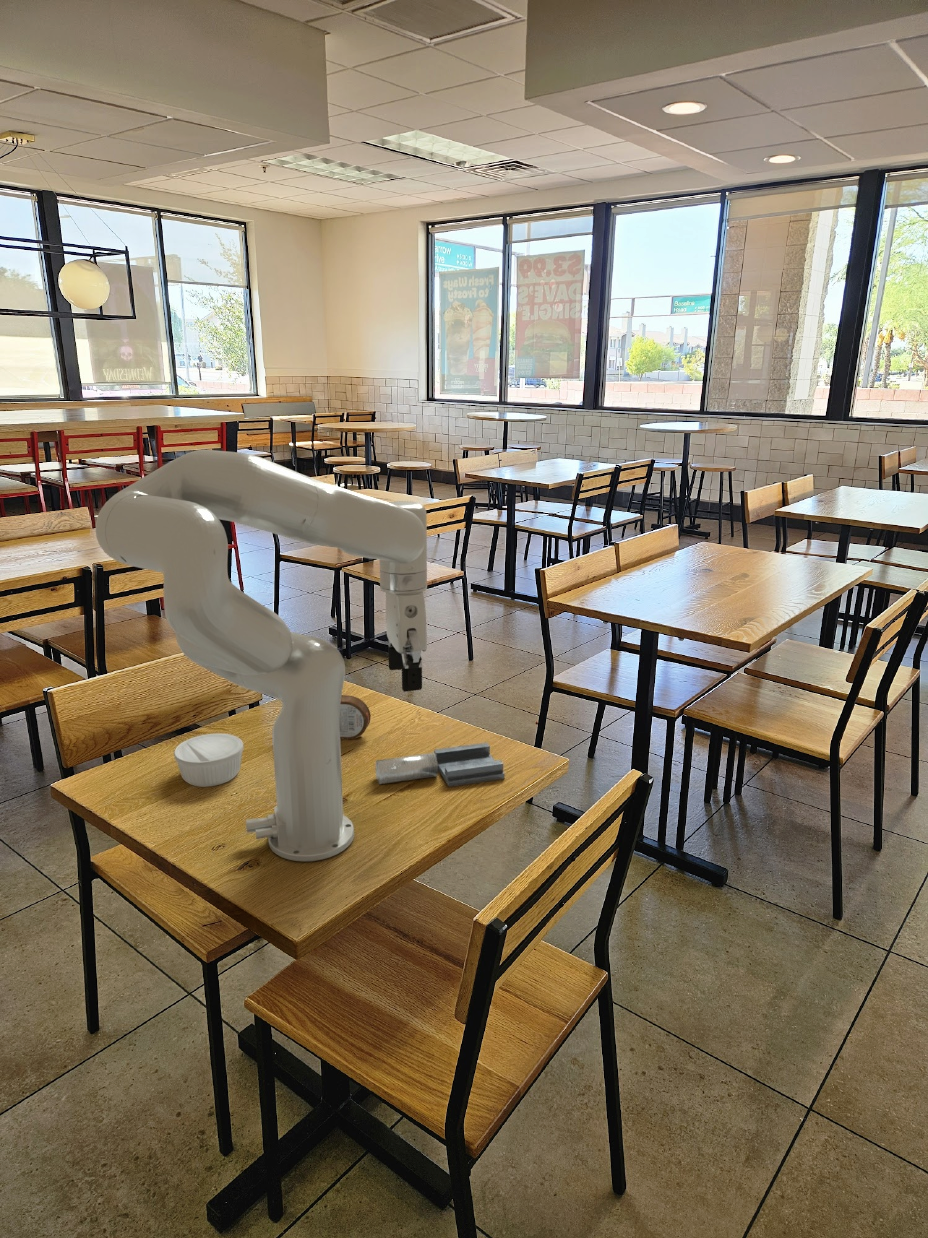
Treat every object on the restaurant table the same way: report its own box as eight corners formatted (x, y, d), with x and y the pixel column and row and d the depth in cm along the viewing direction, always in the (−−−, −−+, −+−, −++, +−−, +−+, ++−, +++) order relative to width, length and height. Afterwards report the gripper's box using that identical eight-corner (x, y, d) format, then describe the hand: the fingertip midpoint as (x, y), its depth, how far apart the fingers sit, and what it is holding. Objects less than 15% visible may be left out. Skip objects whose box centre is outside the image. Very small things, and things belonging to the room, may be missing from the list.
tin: (371, 735, 155) (370, 694, 152) (368, 742, 152) (366, 701, 149) (294, 731, 156) (292, 690, 154) (289, 738, 153) (287, 697, 151)
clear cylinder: (379, 789, 137) (381, 775, 134) (374, 769, 139) (376, 755, 137) (436, 780, 140) (439, 767, 137) (430, 762, 142) (433, 748, 140)
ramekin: (163, 784, 136) (159, 756, 134) (202, 755, 146) (199, 729, 144) (221, 795, 133) (218, 766, 131) (257, 765, 143) (255, 738, 141)
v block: (448, 787, 136) (448, 773, 135) (432, 760, 145) (432, 747, 144) (504, 778, 139) (504, 765, 138) (485, 753, 148) (485, 740, 147)
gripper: (440, 591, 122) (440, 696, 128) (413, 565, 138) (414, 659, 143) (392, 595, 120) (394, 701, 125) (369, 568, 136) (372, 663, 141)
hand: (404, 679), depth 134 cm, fingers open, 9 cm apart
